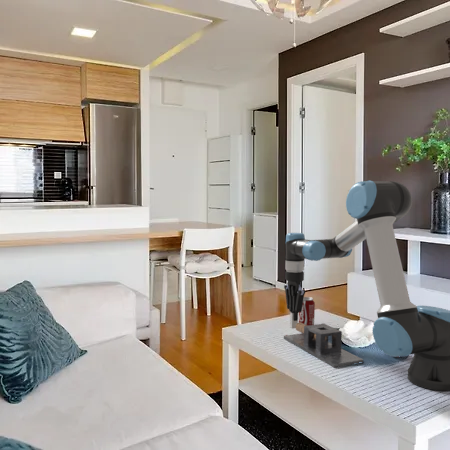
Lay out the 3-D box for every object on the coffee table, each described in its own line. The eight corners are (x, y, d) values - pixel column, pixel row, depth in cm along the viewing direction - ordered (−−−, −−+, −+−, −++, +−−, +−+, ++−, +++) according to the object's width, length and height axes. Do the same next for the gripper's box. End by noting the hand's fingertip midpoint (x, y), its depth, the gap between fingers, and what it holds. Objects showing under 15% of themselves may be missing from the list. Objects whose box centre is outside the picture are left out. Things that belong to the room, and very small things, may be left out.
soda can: (316, 324, 210) (317, 298, 209) (310, 328, 204) (311, 301, 203) (302, 322, 213) (302, 296, 212) (296, 325, 207) (296, 299, 207)
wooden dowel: (326, 342, 175) (326, 332, 175) (318, 343, 174) (318, 333, 174) (303, 330, 190) (303, 321, 190) (295, 331, 189) (295, 322, 189)
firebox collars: (363, 363, 163) (364, 339, 162) (334, 367, 158) (334, 343, 157) (309, 335, 194) (309, 315, 193) (283, 338, 189) (283, 318, 189)
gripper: (311, 272, 187) (310, 331, 189) (294, 267, 199) (293, 322, 201) (295, 273, 184) (294, 333, 186) (278, 268, 196) (278, 324, 198)
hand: (293, 327), depth 193 cm, fingers closed
